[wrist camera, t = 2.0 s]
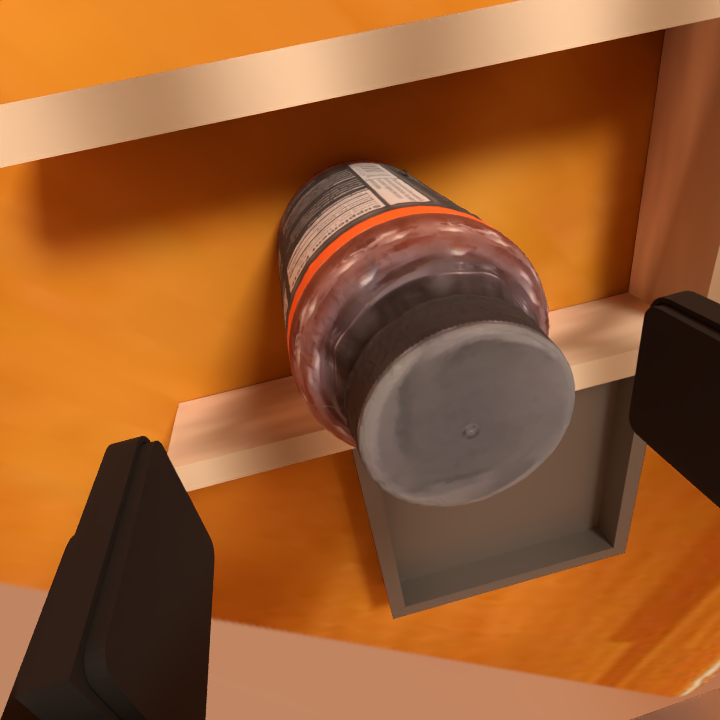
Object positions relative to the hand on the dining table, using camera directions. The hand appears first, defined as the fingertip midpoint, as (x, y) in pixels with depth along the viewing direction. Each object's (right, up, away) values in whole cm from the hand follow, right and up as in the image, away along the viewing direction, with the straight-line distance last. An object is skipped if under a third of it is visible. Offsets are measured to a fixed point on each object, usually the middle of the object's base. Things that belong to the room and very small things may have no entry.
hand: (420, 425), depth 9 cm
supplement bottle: (-1, +6, +9) cm, 11 cm away
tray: (+6, -5, +16) cm, 18 cm away
